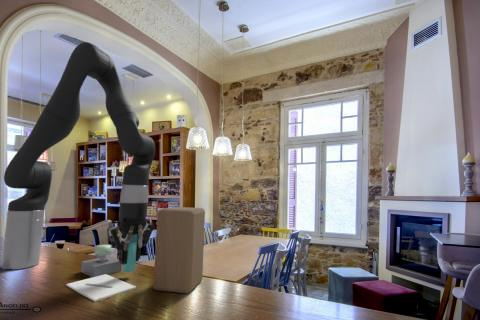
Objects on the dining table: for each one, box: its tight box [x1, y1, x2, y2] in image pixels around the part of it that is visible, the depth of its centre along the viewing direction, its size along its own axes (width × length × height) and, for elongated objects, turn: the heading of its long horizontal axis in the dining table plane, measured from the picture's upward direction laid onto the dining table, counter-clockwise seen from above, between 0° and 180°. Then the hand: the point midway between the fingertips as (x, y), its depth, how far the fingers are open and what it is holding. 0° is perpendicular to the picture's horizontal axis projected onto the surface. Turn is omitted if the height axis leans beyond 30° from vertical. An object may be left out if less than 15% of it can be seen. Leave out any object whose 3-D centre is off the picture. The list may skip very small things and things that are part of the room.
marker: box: [122, 234, 138, 273], centre depth 73 cm, size 3×3×10 cm
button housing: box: [80, 255, 123, 278], centre depth 77 cm, size 8×8×3 cm
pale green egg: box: [94, 244, 112, 263], centre depth 77 cm, size 4×4×6 cm
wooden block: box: [152, 206, 206, 294], centre depth 68 cm, size 10×10×20 cm
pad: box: [66, 274, 137, 302], centre depth 65 cm, size 15×10×1 cm, turn 55°
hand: (129, 262), depth 72 cm, fingers closed on marker, 3 cm apart
